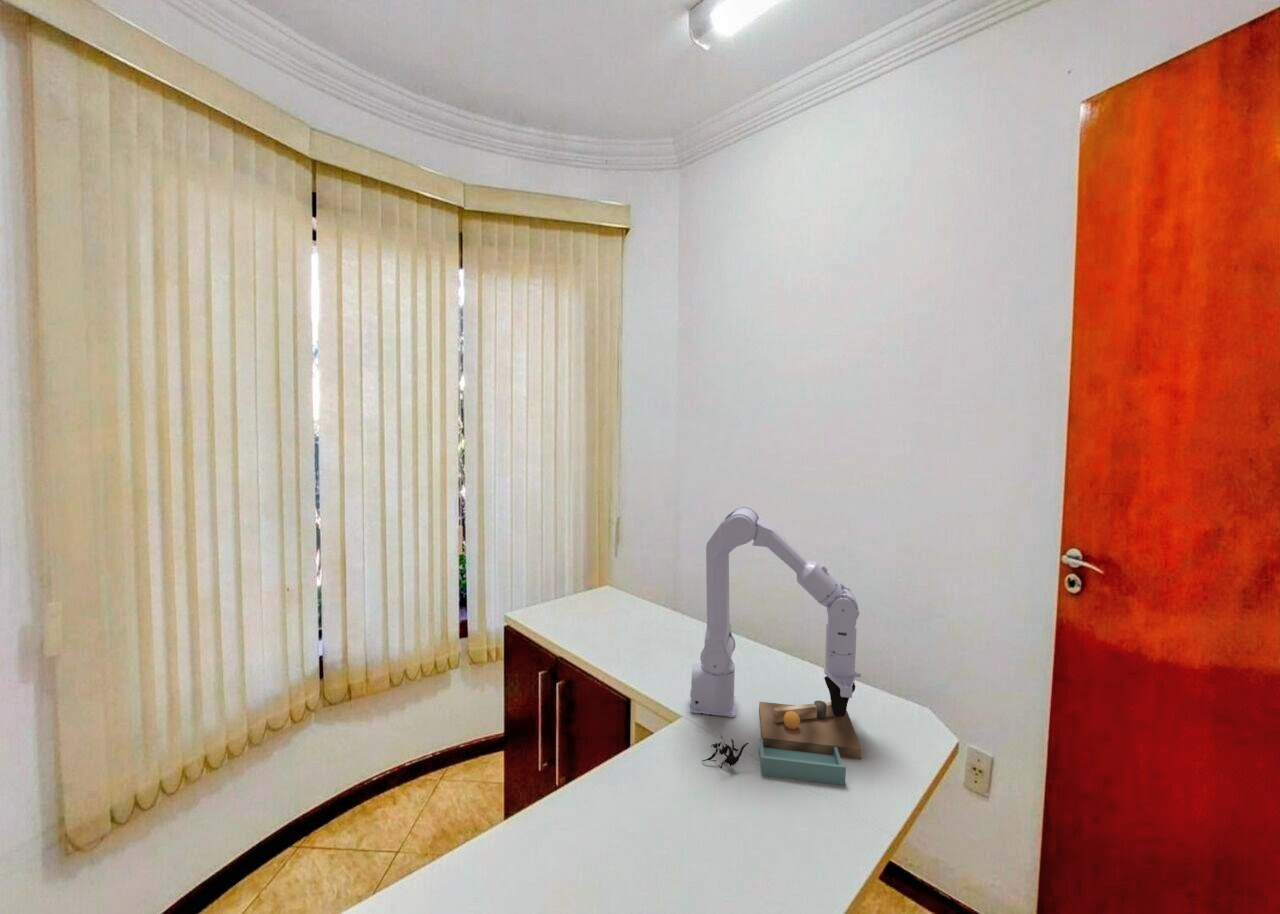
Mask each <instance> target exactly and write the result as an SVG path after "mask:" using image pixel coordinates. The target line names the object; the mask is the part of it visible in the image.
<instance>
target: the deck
mask: <svg viewBox="0 0 1280 914" xmlns="http://www.w3.org/2000/svg"><path fill="white" fill-rule="evenodd" d="M796 705H797V704H796ZM796 705H795V704H787V703H785V704H784V703H776V702H767V701H759V702H758V713H759V724H760V725H759V726H760V735H761V736H760V738H761V739H763V747H766V748H774V749H783V750H792V751H800V752H809V753H817V754H826V755H833V754H834V747H837V748H838V751H839V755H840V758H847V759H858V760H861V759H862V750H863V749H862V746H861V743H860V741H859V738H858V735H857V734H856V730H855V728H854V725H853V723H852V720H851V718H850V716H849V715H850V714H849V712H848V710H847V709H846V713H845V716H840V717H838V716H830V717H826V718H825V719H818V718H812V719H804V720H800V725H799V726H798V727H797V728H796V729H790V728H788V727H787V726H786V725H785V724H784V722H778V723H776V722H775V721H774V719H773V716H774V708H778V707H787V706H796Z"/></svg>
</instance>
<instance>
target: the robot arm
mask: <svg viewBox="0 0 1280 914" xmlns="http://www.w3.org/2000/svg"><path fill="white" fill-rule="evenodd" d="M751 541H753V542H752V546H754V547H762V548H767V549H769V550H770V551H771V552H772V553H773V554H774V555H775V556H776V557H777V558H778V559H780V561H782V562H783V563H784V564H786V565H787V566H788V567H789V568H790V569H791V570H792V571H794V573H796V582H797V584H799V586H801V587H802V588H803V589H804V590H805V591H806V592H807V593H808V594H809V595H810V596H811V597H812V598H813V599H814V600H815V601H817V602H818V603H819V605H821V606H824V607H825V608H826V612H827V623H826V626H825V627H826V629H825V655H824V656H825V660H824V661H825V662H824V667H823V672H824V674H825V675H826V676H825V677H823V679H824V681H825V685H826V687H827V688H828V691H829V696H830V697H829V699H830V702H831V705H832V711H833V714H834V715H836V716H845V713H846V710H847V708H848V703H849V701H850V699H852V698H853V693H854V692H855V690H856V684H855V680H856V678H862V672H861V670H859V669H856V656H857V655H856V653H857V652H856V651H857V628H856V626H857V620H858V618H859V617H860V610H859V606H858V602H857V600H856V597H855V595H854V593H853V592H852V591H851V589H850V588H848V587H846V585H845V584H844V583H843V582H841V583H839V581H837V580H836V579H835V578H834V576H832V575H831V574H830V573H829V572H828V571H829V569H828V567H827V566H826V565H825V564H824V563H822V564H821V565H820V564H819V562H817V561H808V560H806V559H805V558H804V557H803V556H802V555H801V554H800V553H799V551H797V550H796V549H795V548H794V546H793V545H792V544H791V543H789V542H788V541H787V540H786V538H784V537H783V536H782V534H781V533H780V532H779V531H778V530H777V529H776V528H775V527H774V526H773V525H771V523H770V522H769V521H767V520H766V519H765V518H764V517H762V516H761V515H758V513H757V512H756V511H755V510H754V509H752V508H751V507H748V506H740V507H737V508H735V510H733V511H732V512H730V513H728V514H727V515H726V517H724V519H723V520H722V521H721V523H720V525H718V527H717V528H716V530H715V531H714V533H713V534H712V535H711V536H710V538H709V539H708V541H707V542H706V546H705V547H706V548H705V549H706V550H705V554H706V555H705V559H706V563H705V564H706V568H705V569H706V572H705V574H706V576H705V577H706V578H705V579H706V629H705V634H704V647H703V648H702V650H701V652H700V663H692V666H691V667H692V669H691V682H690V683H691V688H690V697H689V698H690V712H691V713H692V712H694V713H693V714H700V713H703V714H702V715H710V714H711V715H713V716H722V717H731V718H735V717H736V715H737V714H736V713H737V710H736V709H737V708H736V705H737V704H736V696H735V678H736V677H735V675H736V674H735V670H736V665H735V663H734V661H733V659H732V656H733V653H734V651H735V649H736V639H735V638H734V636H733V634H732V633H733V632H732V625H731V622H730V554H731V552H732V551H733V550H735V549H736V548H737V547H740V546H743V545H746V544H748V543H750V542H751ZM711 715H710V716H711Z"/></svg>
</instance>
